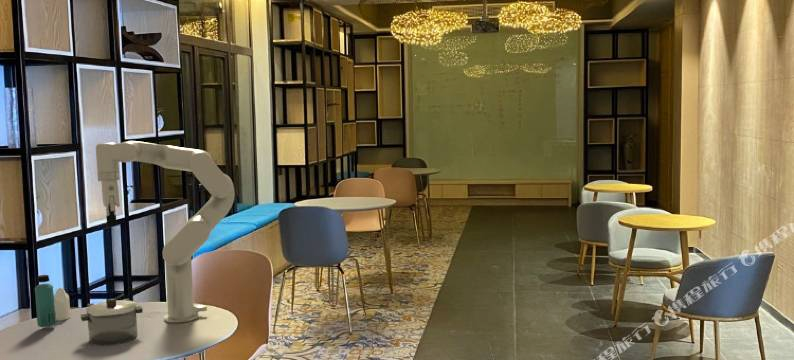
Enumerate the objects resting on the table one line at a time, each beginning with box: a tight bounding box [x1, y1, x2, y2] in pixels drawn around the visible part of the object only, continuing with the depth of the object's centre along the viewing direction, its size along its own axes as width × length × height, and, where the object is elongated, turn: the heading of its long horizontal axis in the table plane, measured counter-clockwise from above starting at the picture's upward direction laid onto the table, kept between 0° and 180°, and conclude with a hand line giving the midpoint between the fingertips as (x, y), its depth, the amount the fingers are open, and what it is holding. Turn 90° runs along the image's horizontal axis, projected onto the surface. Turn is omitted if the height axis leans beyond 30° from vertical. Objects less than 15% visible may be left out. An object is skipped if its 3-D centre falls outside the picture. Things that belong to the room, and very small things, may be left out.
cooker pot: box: [80, 298, 144, 346], centre depth 273 cm, size 20×17×11 cm
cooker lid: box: [85, 298, 137, 316], centre depth 272 cm, size 16×16×4 cm
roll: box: [54, 287, 71, 322], centre depth 300 cm, size 6×12×6 cm
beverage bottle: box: [34, 274, 57, 328], centre depth 286 cm, size 6×7×20 cm
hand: (111, 225), depth 287 cm, fingers closed
